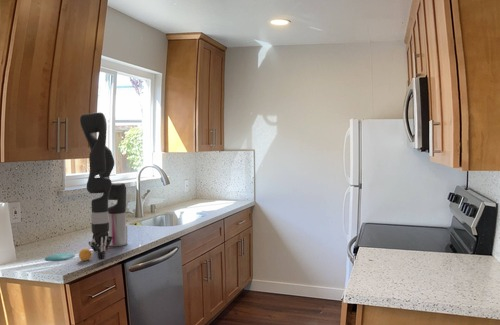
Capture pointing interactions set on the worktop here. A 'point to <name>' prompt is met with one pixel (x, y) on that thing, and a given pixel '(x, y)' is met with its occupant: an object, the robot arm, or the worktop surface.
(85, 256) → the ball
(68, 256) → the disc
